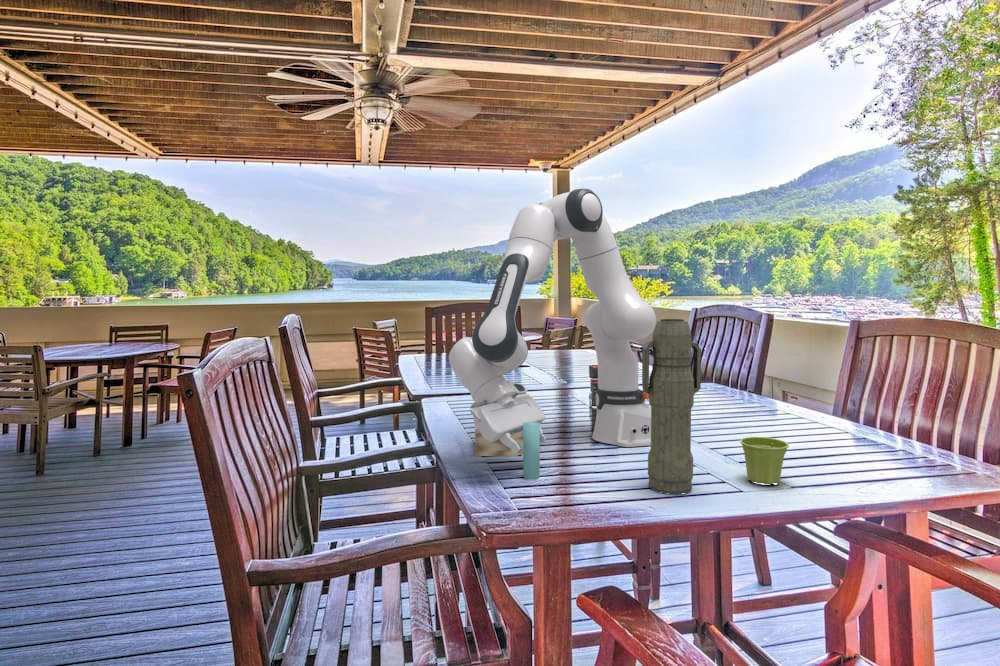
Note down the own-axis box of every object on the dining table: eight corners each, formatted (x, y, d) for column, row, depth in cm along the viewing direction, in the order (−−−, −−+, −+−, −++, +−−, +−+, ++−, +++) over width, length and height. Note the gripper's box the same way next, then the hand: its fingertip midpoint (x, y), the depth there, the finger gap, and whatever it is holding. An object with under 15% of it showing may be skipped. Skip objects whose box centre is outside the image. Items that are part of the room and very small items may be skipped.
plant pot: (785, 492, 114) (786, 450, 114) (735, 484, 119) (736, 444, 119) (790, 479, 122) (791, 440, 121) (743, 472, 127) (743, 434, 126)
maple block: (525, 441, 156) (525, 420, 155) (531, 455, 142) (531, 432, 141) (474, 442, 155) (474, 421, 154) (475, 457, 141) (475, 433, 140)
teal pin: (538, 474, 126) (538, 421, 126) (540, 479, 123) (540, 425, 122) (522, 475, 126) (522, 422, 126) (524, 480, 123) (524, 425, 122)
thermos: (708, 492, 114) (710, 319, 112) (654, 497, 112) (655, 320, 110) (685, 479, 123) (687, 318, 121) (634, 482, 120) (636, 319, 118)
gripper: (474, 396, 120) (512, 448, 114) (528, 384, 136) (563, 429, 131) (458, 414, 123) (494, 466, 117) (513, 400, 139) (547, 445, 134)
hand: (531, 446), depth 124 cm, fingers open, 8 cm apart
